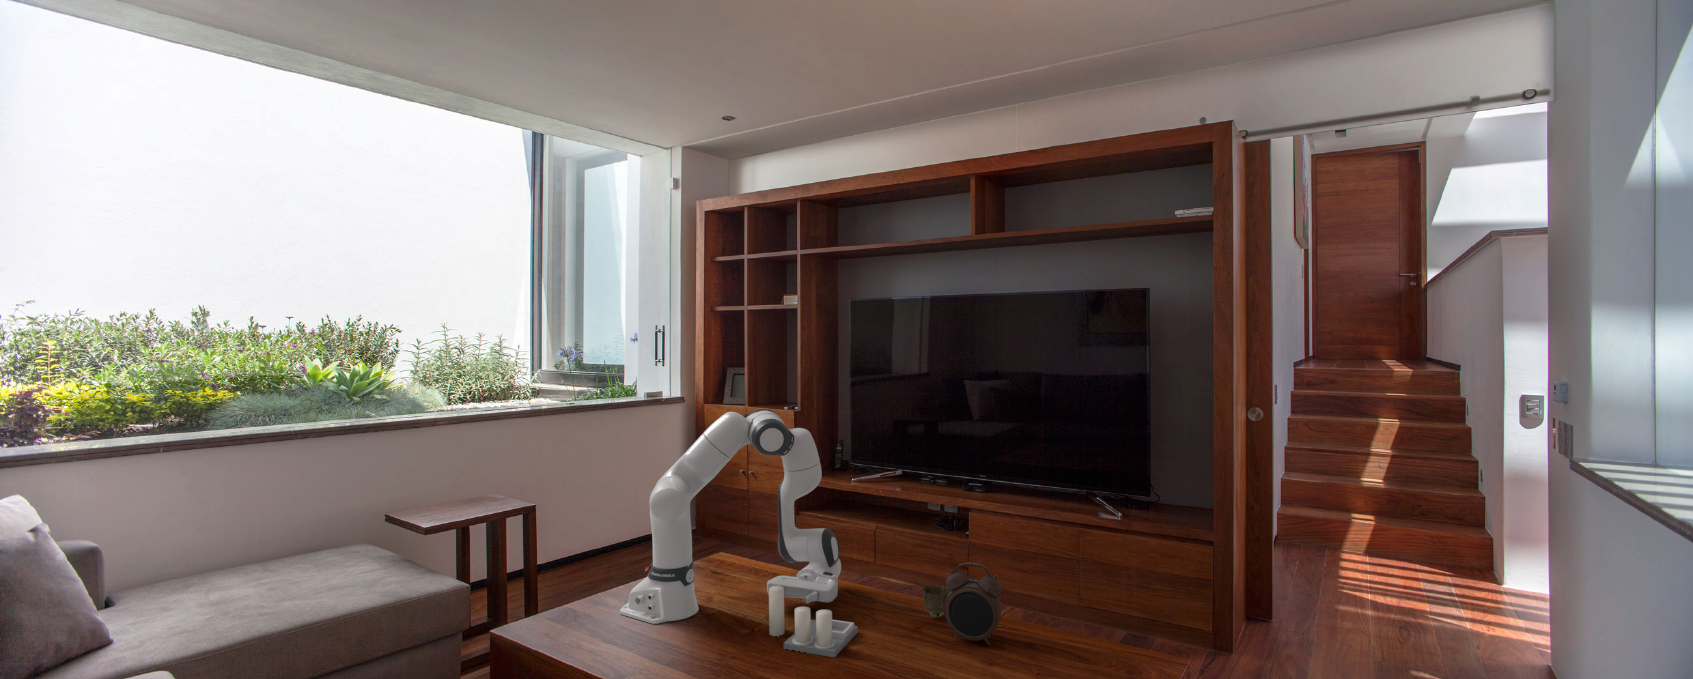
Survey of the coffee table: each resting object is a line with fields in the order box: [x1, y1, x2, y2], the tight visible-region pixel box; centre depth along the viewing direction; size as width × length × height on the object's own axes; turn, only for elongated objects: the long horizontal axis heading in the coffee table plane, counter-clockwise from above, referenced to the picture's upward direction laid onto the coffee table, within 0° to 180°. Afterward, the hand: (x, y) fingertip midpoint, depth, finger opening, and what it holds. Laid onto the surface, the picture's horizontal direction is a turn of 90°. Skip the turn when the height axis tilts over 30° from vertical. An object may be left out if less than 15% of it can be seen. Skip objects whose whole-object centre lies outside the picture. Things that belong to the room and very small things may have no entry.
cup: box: [922, 584, 950, 620], centre depth 203 cm, size 8×7×8 cm
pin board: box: [783, 606, 859, 658], centre depth 189 cm, size 14×16×10 cm
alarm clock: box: [943, 562, 1003, 645], centre depth 187 cm, size 15×7×20 cm, turn 71°
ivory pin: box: [768, 586, 785, 637], centre depth 194 cm, size 4×4×12 cm
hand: (789, 598), depth 201 cm, fingers open, 8 cm apart
